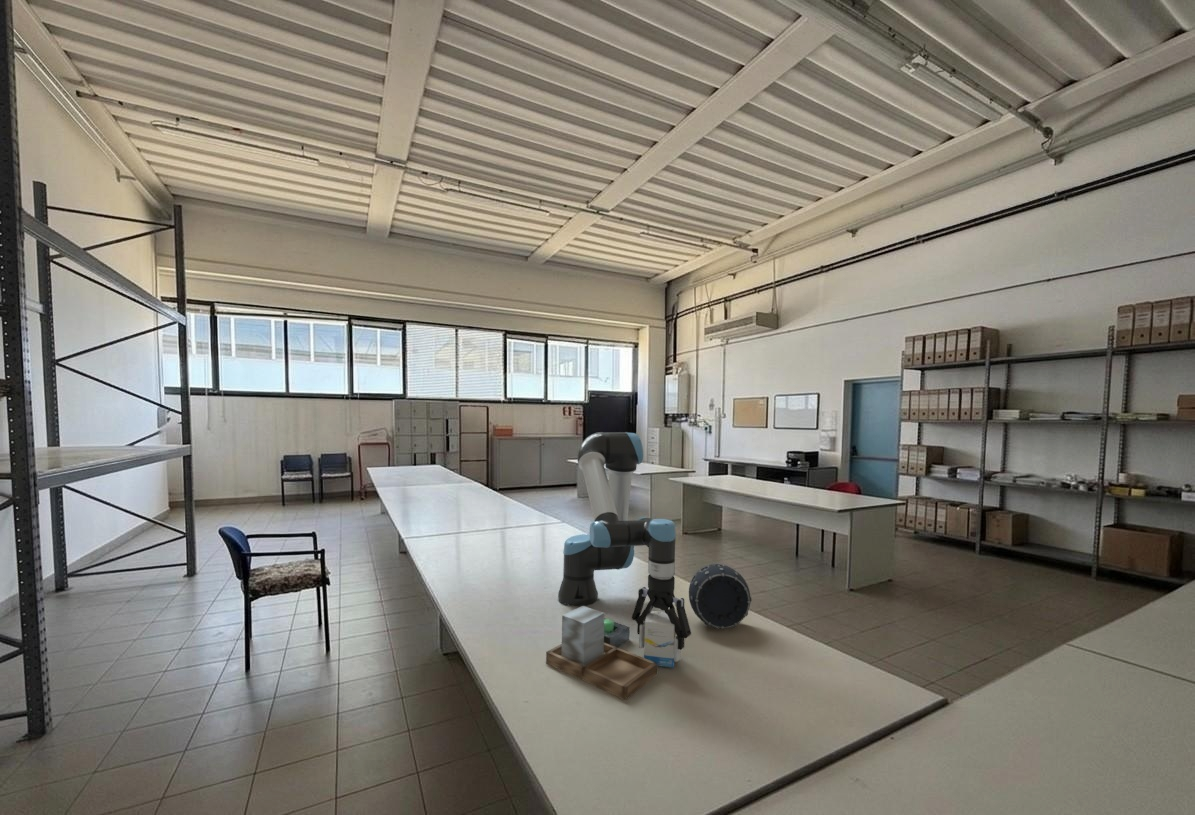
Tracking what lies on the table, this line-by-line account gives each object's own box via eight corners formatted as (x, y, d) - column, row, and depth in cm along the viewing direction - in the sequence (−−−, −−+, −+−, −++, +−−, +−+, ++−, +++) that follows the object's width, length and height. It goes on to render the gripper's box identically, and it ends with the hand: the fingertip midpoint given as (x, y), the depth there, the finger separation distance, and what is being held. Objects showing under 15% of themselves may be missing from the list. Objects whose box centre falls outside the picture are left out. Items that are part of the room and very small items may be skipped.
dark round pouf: (753, 633, 151) (754, 571, 152) (691, 632, 152) (692, 569, 152) (744, 619, 162) (744, 561, 163) (686, 618, 163) (686, 560, 163)
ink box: (674, 668, 128) (675, 625, 128) (643, 664, 130) (644, 621, 130) (675, 652, 137) (676, 612, 137) (646, 649, 138) (647, 609, 138)
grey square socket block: (584, 641, 144) (584, 628, 144) (603, 630, 152) (604, 618, 152) (610, 652, 138) (610, 638, 138) (629, 640, 145) (629, 627, 146)
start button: (597, 638, 144) (598, 622, 144) (605, 634, 147) (605, 618, 148) (608, 642, 142) (608, 626, 142) (615, 638, 145) (616, 621, 145)
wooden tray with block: (546, 662, 131) (547, 615, 131) (580, 643, 143) (581, 600, 143) (625, 700, 114) (626, 645, 114) (657, 674, 126) (658, 625, 126)
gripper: (620, 569, 138) (618, 644, 137) (692, 588, 123) (690, 673, 123) (634, 563, 144) (633, 635, 143) (704, 581, 129) (703, 661, 129)
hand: (659, 652), depth 133 cm, fingers closed on ink box, 11 cm apart
